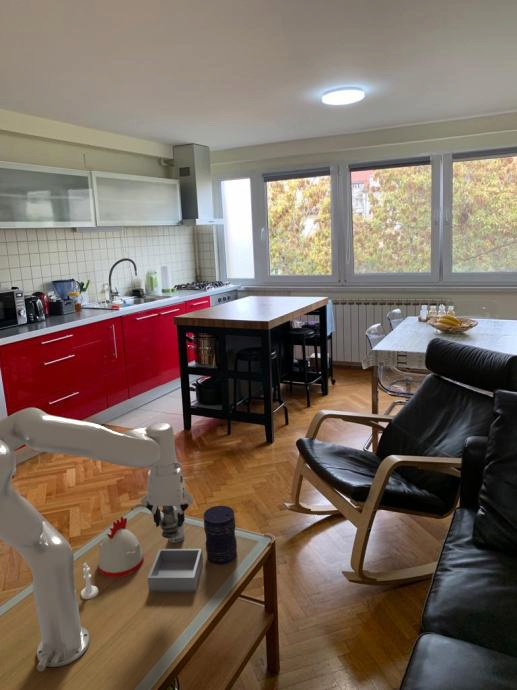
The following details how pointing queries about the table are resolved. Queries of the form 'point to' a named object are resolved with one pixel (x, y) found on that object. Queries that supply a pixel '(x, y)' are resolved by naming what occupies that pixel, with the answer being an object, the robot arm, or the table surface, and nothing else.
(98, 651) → the table surface
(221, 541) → the storage jar
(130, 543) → the kitchen timer
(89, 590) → the chess piece
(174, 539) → the energy drink
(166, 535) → the grey pawn
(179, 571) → the box
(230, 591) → the table surface
